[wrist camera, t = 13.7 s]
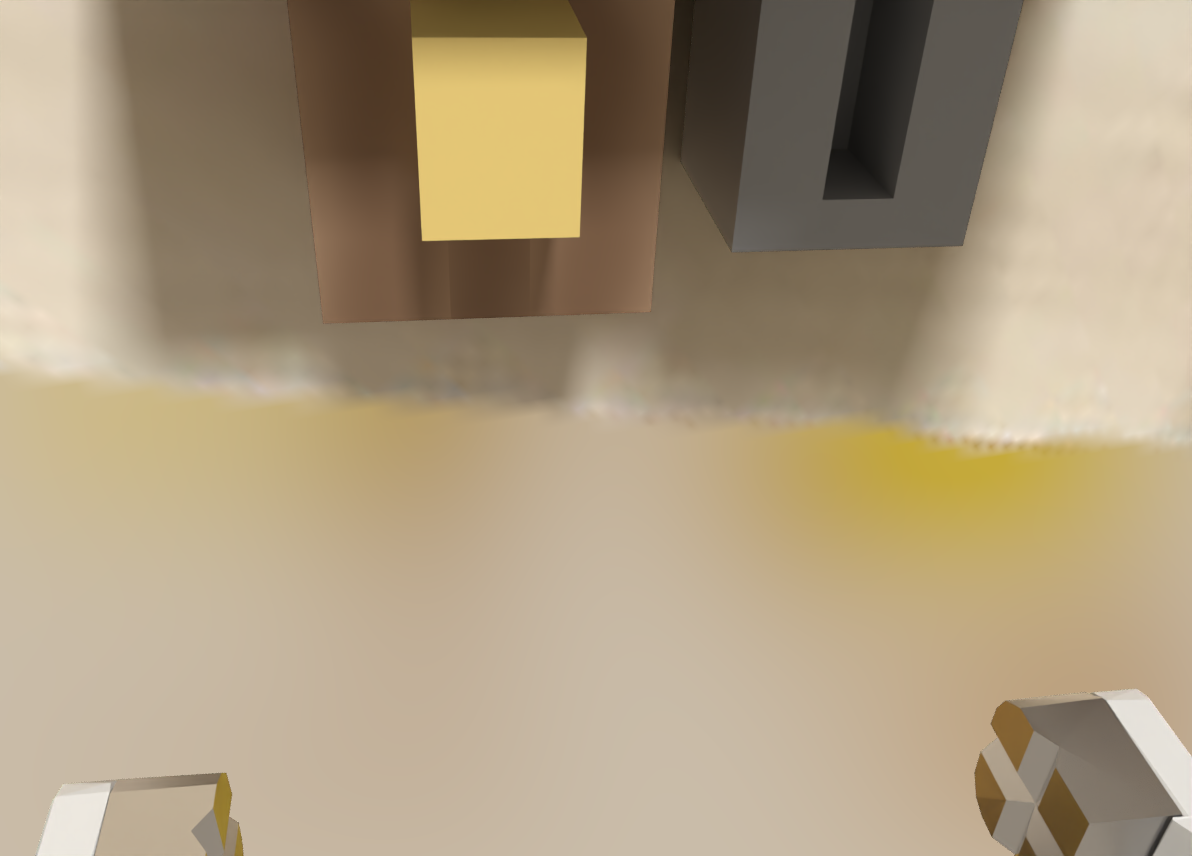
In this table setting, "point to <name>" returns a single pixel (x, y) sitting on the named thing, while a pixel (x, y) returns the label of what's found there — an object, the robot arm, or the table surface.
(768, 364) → the table surface
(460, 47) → the yellow tabbed block
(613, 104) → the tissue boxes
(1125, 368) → the table surface
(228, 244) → the table surface
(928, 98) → the dark gray slotted block
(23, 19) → the table surface
